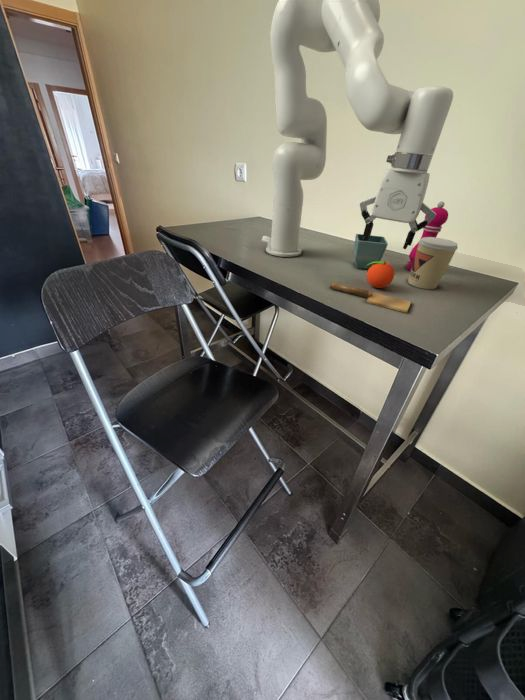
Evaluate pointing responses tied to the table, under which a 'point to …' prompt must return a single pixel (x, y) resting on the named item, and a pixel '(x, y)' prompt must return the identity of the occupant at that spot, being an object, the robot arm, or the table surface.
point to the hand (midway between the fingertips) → (385, 243)
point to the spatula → (374, 297)
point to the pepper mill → (431, 229)
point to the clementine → (380, 274)
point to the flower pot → (368, 250)
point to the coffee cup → (431, 262)
